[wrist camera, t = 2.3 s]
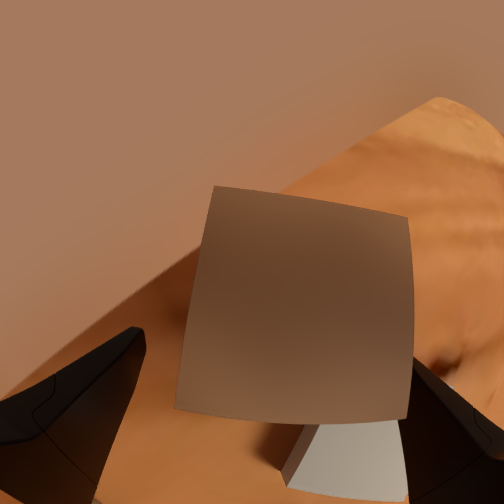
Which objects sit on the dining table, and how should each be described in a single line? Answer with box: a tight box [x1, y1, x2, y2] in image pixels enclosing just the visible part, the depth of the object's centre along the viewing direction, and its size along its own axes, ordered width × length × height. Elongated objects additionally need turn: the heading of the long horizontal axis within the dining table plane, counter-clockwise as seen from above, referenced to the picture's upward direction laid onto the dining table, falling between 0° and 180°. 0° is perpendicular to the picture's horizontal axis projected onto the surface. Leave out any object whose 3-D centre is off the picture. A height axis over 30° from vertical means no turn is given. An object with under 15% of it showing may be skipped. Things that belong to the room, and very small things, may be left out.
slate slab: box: [281, 385, 453, 502], centre depth 14 cm, size 9×9×3 cm
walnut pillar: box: [174, 186, 414, 425], centre depth 11 cm, size 4×4×13 cm
